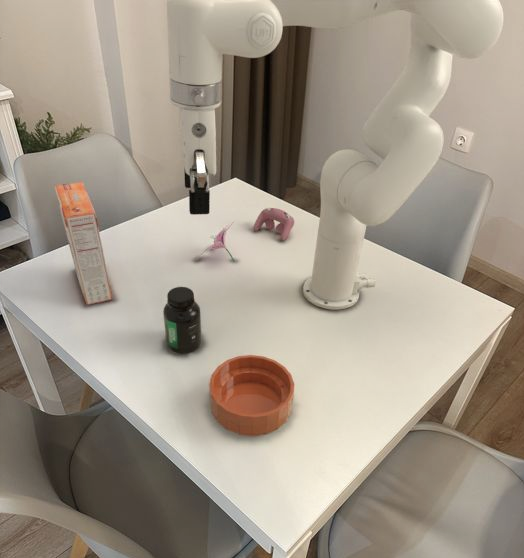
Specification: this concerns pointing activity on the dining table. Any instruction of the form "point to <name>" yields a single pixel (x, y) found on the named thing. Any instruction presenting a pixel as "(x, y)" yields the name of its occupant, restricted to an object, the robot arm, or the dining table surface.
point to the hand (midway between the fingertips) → (196, 199)
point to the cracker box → (84, 242)
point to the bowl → (251, 395)
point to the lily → (219, 241)
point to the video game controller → (279, 215)
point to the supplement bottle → (182, 321)
